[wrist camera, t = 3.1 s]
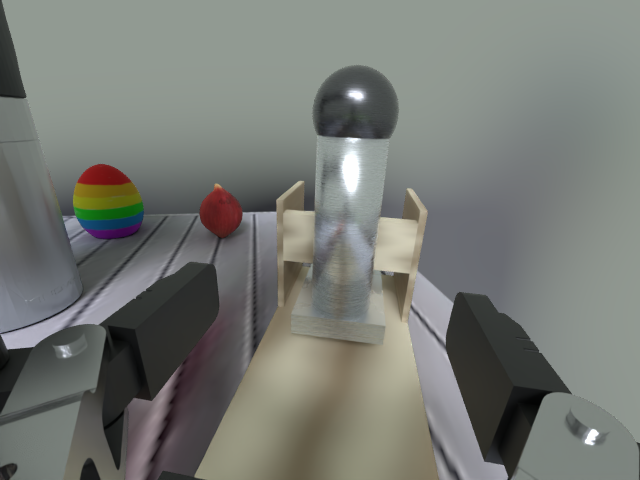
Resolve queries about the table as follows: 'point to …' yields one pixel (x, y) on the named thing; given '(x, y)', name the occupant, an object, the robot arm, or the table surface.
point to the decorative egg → (107, 203)
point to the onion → (220, 212)
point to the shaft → (348, 207)
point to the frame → (330, 377)
